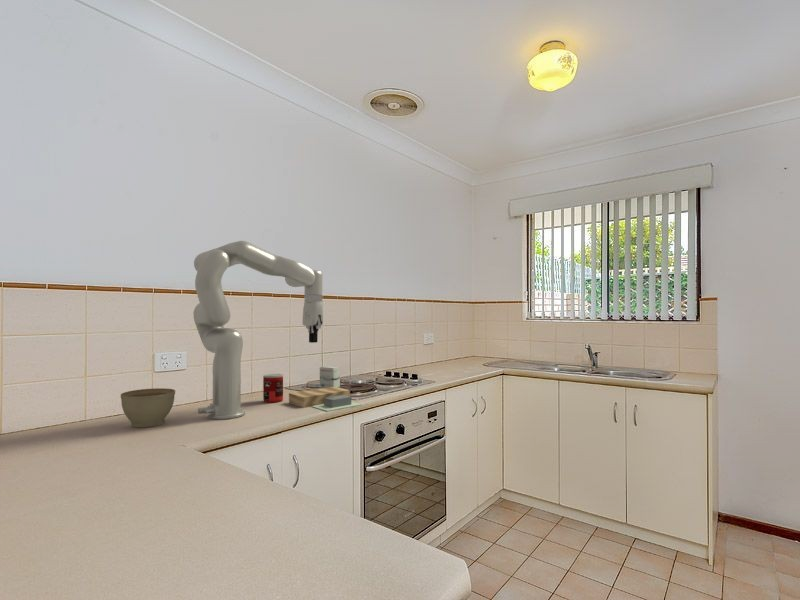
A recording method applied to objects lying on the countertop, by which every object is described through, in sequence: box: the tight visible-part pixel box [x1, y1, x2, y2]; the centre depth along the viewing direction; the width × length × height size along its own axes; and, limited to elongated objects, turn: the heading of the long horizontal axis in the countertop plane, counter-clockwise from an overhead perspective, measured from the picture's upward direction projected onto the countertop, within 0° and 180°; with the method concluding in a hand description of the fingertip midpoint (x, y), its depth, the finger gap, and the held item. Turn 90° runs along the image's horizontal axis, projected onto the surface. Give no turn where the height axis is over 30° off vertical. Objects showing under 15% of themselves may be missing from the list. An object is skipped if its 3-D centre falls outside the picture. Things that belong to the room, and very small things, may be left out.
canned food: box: [262, 373, 284, 404], centre depth 187 cm, size 8×8×11 cm
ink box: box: [319, 366, 341, 389], centre depth 205 cm, size 9×5×12 cm, turn 58°
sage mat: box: [311, 401, 362, 412], centre depth 176 cm, size 16×11×1 cm
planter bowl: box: [120, 387, 176, 428], centre depth 150 cm, size 16×16×11 cm
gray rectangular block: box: [324, 395, 352, 408], centre depth 177 cm, size 9×6×3 cm, turn 132°
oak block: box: [288, 387, 351, 408], centre depth 186 cm, size 22×12×4 cm, turn 132°
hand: (313, 342), depth 189 cm, fingers closed
